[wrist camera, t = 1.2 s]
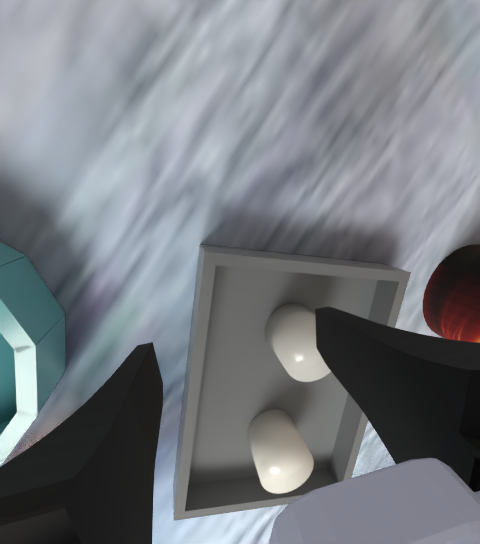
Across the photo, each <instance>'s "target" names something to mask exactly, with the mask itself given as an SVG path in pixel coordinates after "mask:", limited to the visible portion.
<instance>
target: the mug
mask: <svg viewBox="0 0 480 544" xmlns="http://www.w3.org/2000/svg"><path fill="white" fill-rule="evenodd" d="M423 313H424V318H425V321H426V323H427V325H428V326H429V328H430V329H431V330H432V331H433V332H435V333H436V334H438V335H439V336H441V337H443V338H445V339H451V340H459V341H467V342H478V343H480V245H468V246H465V247H462V248H460V249H458V250H456V251H454V252H453V253H451V254H450V255H449V256H447V257H446V258H445V259H444V260H443V261H442V262H441V263H440V264H439V265H438V267H437V268H436V269H435V271H434V272H433V274H432V276H431V278H430V279H429V281H428V284H427V287H426V289H425V293H424V298H423Z"/></svg>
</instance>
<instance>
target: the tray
mask: <svg viewBox="0 0 480 544" xmlns="http://www.w3.org/2000/svg"><path fill="white" fill-rule="evenodd" d="M410 273H411V272H407V271H404V270H401V269H398V268H395V267H392V266H389V265H385V264H381V263H371V262H362V261H353V260H343V259H334V258H324V257H315V256H306V255H296V254H287V253H278V252H268V251H259V250H249V249H240V248H231V247H221V246H212V245H203V244H200V249H199V258H198V267H197V276H196V286H195V295H194V304H193V313H192V322H191V331H190V340H189V349H188V358H187V367H186V376H185V385H184V394H183V403H182V412H181V421H180V430H179V439H178V448H177V457H176V466H175V475H174V484H173V490H174V520H181V519H188V518H195V517H202V516H209V515H216V514H222V513H229V512H236V511H243V510H250V509H257V508H264V507H271V506H277V505H284V504H289V503H290V502H291V501H293V500H295V499H297V498H299V497H301V496H303V495H305V494H307V493H309V492H311V491H312V490H315V489H319V488H322V487H325V486H328V485H331V484H335V483H338V482H341V481H344V480H348V479H351V477H352V473H353V470H354V466H355V463H356V460H357V456H358V453H359V449H360V446H361V442H362V439H363V435H364V432H365V428H366V425H367V422H368V418H367V417H366V415H365V414H364V412H363V411H362V410H361V408H360V407H359V406H358V404H357V403H356V402H355V401H354V399H353V398H352V397H351V396H350V394H349V393H348V392H347V391H346V389H345V388H344V387H343V386H342V384H341V383H340V382H339V381H338V379H337V378H336V377H335V376H334V374H333V373H332V372H330V373H329V374H327V375H326V376H325V377H323V378H321V379H319V380H316V381H312V382H302V381H298V380H296V379H294V378H292V377H291V376H290V375H289V374H288V372H287V371H286V369H285V368H284V366H283V365H282V363H281V362H280V360H279V359H278V357H277V356H276V354H275V353H274V351H273V350H272V348H271V347H270V345H269V344H268V342H267V340H266V337H265V326H266V323H267V320H268V319H269V317H270V315H271V314H272V313H273V312H274V311H275V310H276V309H278V308H279V307H281V306H283V305H285V304H289V303H299V304H302V305H304V306H306V307H307V308H309V309H310V310H311V311H312V312H314V313H315V309H318V308H323V307H327V306H328V307H332V308H336V309H339V310H342V311H345V312H348V313H350V314H353V315H356V316H359V317H362V318H365V319H367V320H370V321H373V322H377V323H380V324H383V325H386V326H390V327H393V328H395V325H396V321H397V318H398V314H399V311H400V308H401V304H402V301H403V297H404V294H405V290H406V287H407V283H408V280H409V276H410ZM272 409H279V410H283V411H285V412H287V413H288V414H289V415H290V416H291V418H292V420H293V422H294V424H295V425H296V427H297V429H298V431H299V433H300V435H301V437H302V438H303V440H304V442H305V444H306V446H307V448H308V449H309V451H310V453H311V455H312V457H313V461H314V466H313V470H312V472H311V474H310V476H309V478H308V479H307V480H306V481H305V482H304V483H303V484H302V485H301V486H299V487H298V488H296V489H294V490H292V491H290V492H287V493H280V494H276V493H271V492H269V491H267V490H265V489H264V488H263V486H262V484H261V482H260V479H259V475H258V472H257V469H256V466H255V463H254V459H253V456H252V453H251V450H250V447H249V443H248V440H247V429H248V427H249V425H250V423H251V422H252V420H253V419H254V418H255V417H256V416H258V415H259V414H261V413H262V412H265V411H267V410H272Z"/></svg>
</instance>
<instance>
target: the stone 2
mask: <svg viewBox="0 0 480 544" xmlns="http://www.w3.org/2000/svg"><path fill="white" fill-rule="evenodd" d="M247 440H248V443H249V447H250V450H251V453H252V456H253V459H254V463H255V466H256V469H257V472H258V475H259V479H260V482H261V484H262V486H263V488H264V489H265V490H267V491H269V492H271V493H276V494H280V493H287V492H290V491H292V490H294V489H296V488H298V487H299V486H301V485H302V484H303V483H304V482H305V481H306V480H307V479H308V478H309V476H310V474H311V472H312V470H313V466H314V461H313V457H312V455H311V453H310V451H309V449H308V448H307V446H306V444H305V442H304V440H303V438H302V437H301V435H300V433H299V431H298V429H297V427H296V425H295V424H294V422H293V420H292V418H291V416H290V415H289V414H288V413H287V412H285V411H283V410H279V409H272V410H267V411H265V412H262V413H261V414H259V415H258V416H256V417H255V418H254V419H253V420H252V422H251V423H250V425H249V427H248V429H247Z"/></svg>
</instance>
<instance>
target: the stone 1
mask: <svg viewBox="0 0 480 544" xmlns="http://www.w3.org/2000/svg"><path fill="white" fill-rule="evenodd" d="M265 337H266V340H267V342H268V344H269V345H270V347H271V348H272V350H273V351H274V353H275V354H276V356H277V357H278V359H279V360H280V362H281V363H282V365H283V366H284V368H285V369H286V371H287V372H288V374H289V375H290V376H291V377H292V378H294V379H296V380H298V381H302V382H312V381H316V380H319V379H321V378H323V377H325V376H326V375H327V374H329V373H330V372H331V370H330V369H329V368H328V367H327V365H326V363H325V362H324V360H323V359H322V357H321V355H320V353H319V352H318V350H317V348H316V320H315V313H314V312H312V311H311V310H310V309H309V308H307V307H306V306H304V305H302V304H299V303H289V304H285V305H283V306H281V307H279V308H278V309H276V310H275V311H274V312H273V313H272V314H271V315H270V317H269V319H268V320H267V323H266V326H265Z"/></svg>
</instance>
